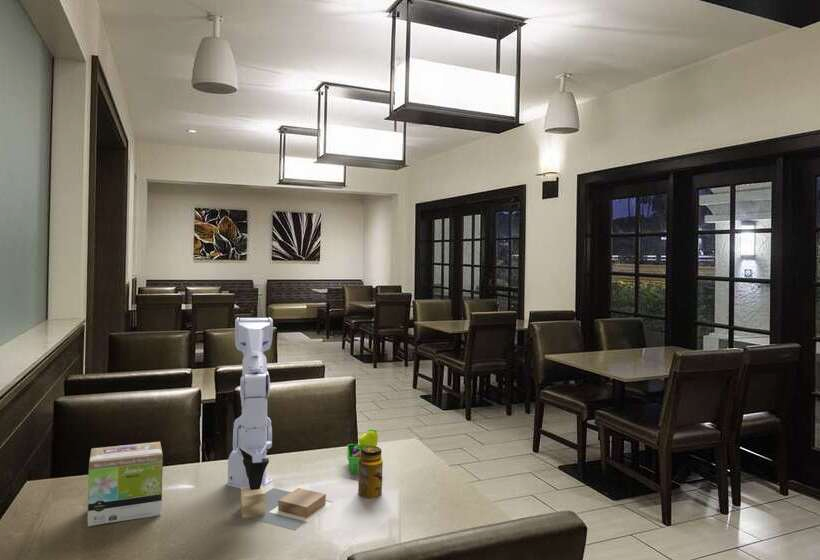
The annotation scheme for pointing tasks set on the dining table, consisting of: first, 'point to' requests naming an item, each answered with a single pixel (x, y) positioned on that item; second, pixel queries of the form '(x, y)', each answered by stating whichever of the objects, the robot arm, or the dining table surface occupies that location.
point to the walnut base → (302, 502)
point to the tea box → (125, 483)
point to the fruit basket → (355, 449)
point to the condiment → (370, 472)
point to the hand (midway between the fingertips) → (253, 482)
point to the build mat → (280, 517)
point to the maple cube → (252, 502)
